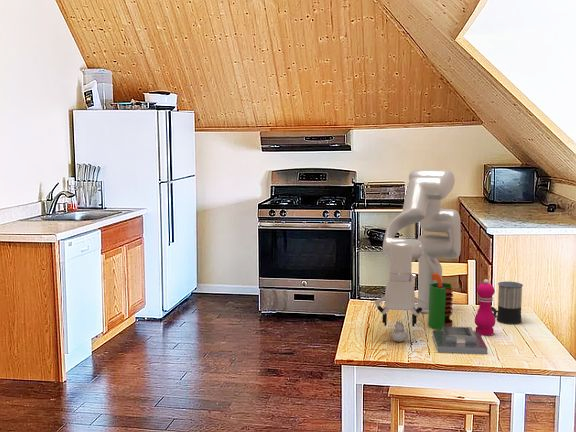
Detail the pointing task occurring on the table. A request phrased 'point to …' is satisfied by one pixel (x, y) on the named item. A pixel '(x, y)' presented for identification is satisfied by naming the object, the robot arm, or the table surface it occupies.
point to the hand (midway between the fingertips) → (399, 325)
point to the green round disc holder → (440, 304)
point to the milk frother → (509, 303)
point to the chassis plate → (459, 340)
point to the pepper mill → (485, 309)
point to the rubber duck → (399, 332)
